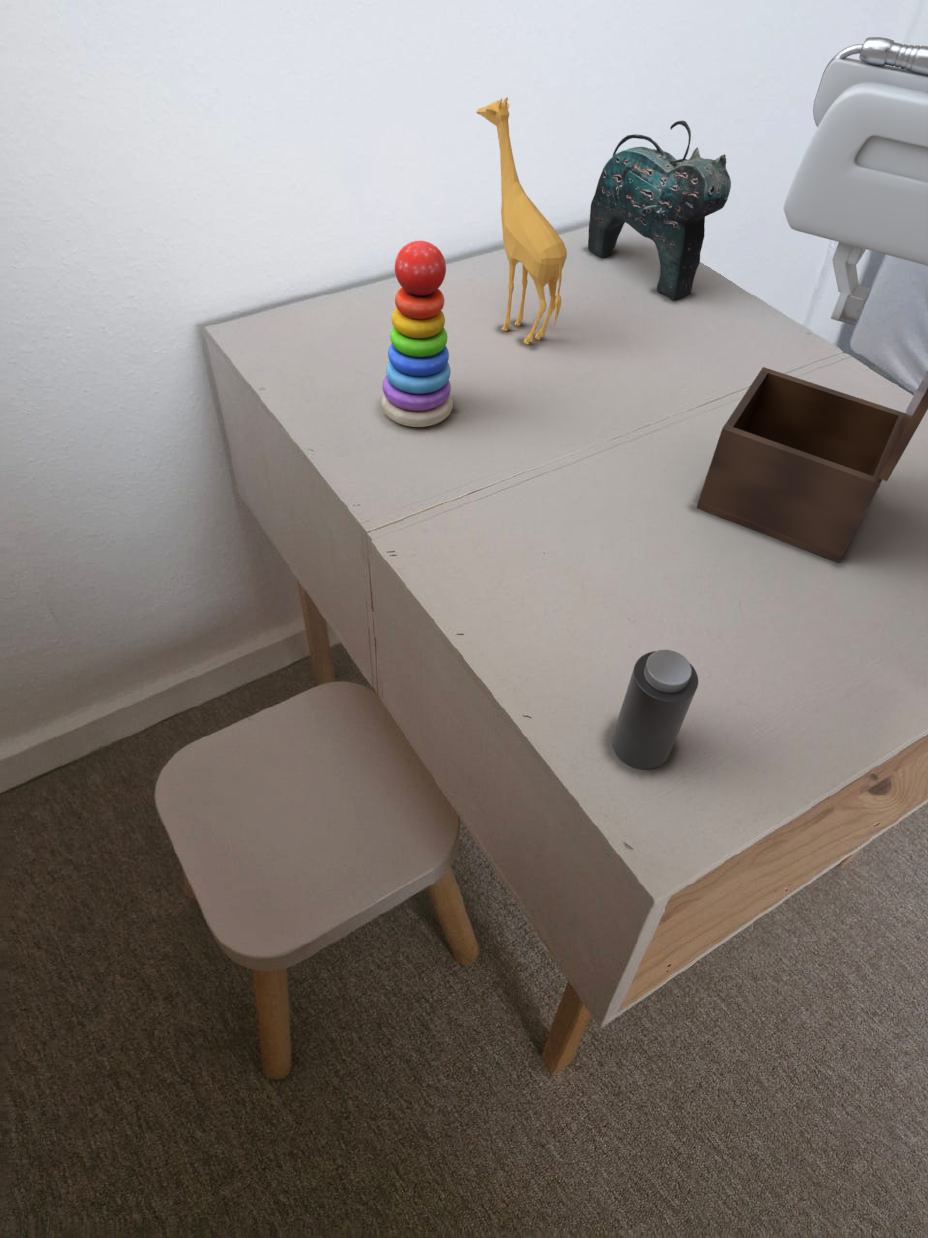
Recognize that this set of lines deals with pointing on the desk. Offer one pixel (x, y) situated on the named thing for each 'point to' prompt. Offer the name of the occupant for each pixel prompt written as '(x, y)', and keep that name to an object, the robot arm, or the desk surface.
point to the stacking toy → (418, 341)
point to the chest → (799, 462)
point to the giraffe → (525, 231)
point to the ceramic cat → (659, 206)
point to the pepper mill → (654, 708)
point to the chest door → (907, 428)
